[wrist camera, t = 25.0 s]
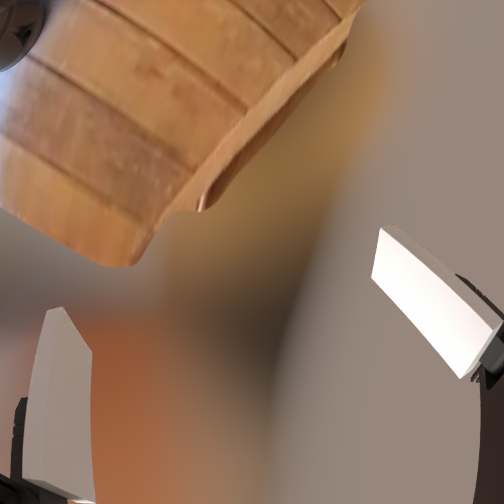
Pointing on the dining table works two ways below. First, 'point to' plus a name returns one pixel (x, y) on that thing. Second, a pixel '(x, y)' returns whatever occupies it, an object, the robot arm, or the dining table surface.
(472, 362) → the robot arm
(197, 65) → the dining table surface
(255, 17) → the dining table surface
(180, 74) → the dining table surface
